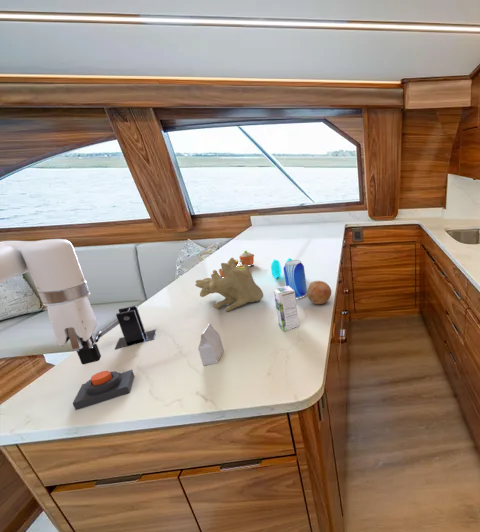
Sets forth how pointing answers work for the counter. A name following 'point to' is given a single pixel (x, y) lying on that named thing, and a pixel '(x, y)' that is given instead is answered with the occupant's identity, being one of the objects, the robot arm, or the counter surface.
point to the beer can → (295, 277)
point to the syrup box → (286, 307)
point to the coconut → (319, 292)
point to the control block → (104, 390)
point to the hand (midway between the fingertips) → (92, 360)
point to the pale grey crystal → (210, 346)
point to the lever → (107, 329)
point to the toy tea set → (244, 259)
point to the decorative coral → (231, 286)
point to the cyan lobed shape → (277, 267)
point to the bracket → (132, 328)
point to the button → (101, 377)
